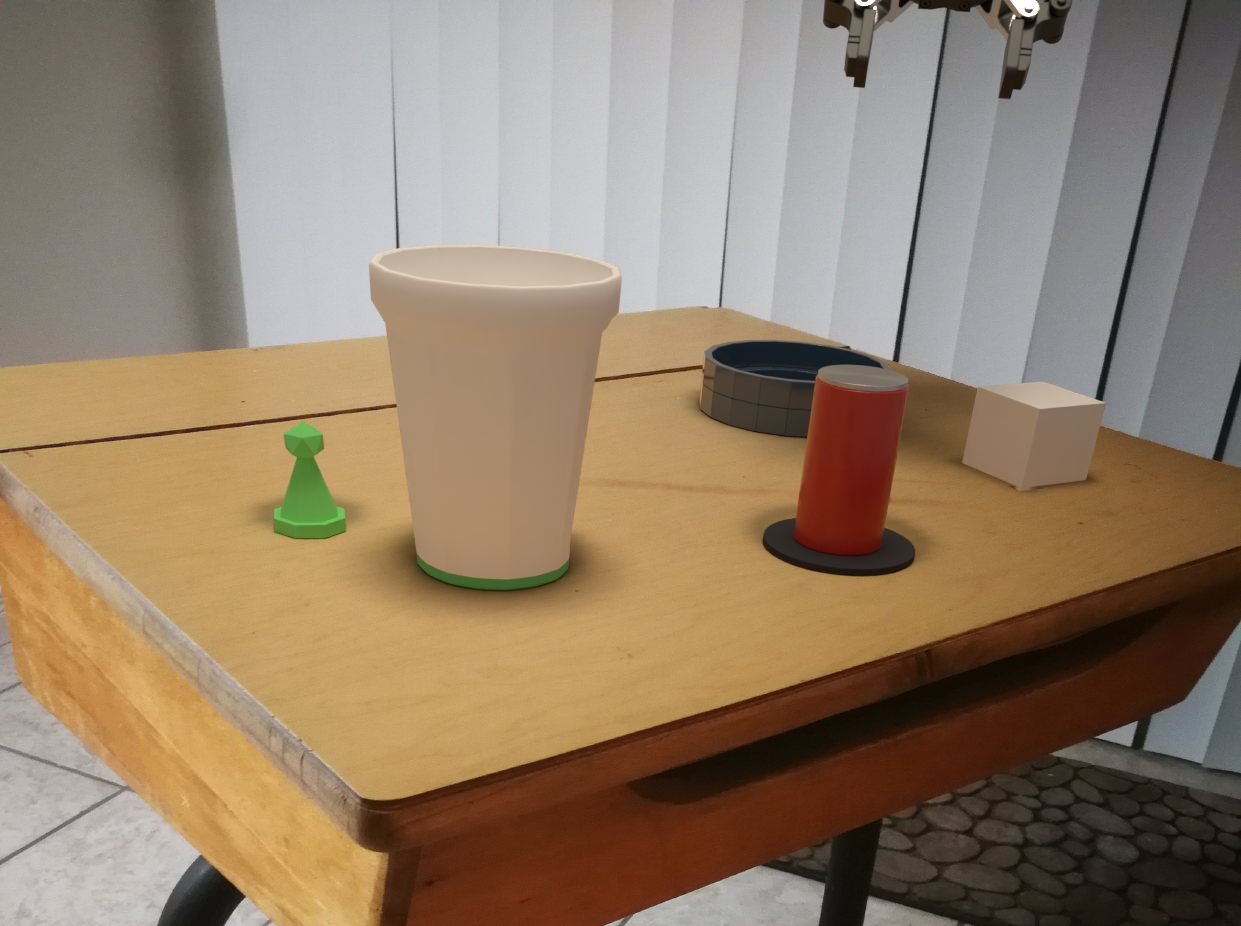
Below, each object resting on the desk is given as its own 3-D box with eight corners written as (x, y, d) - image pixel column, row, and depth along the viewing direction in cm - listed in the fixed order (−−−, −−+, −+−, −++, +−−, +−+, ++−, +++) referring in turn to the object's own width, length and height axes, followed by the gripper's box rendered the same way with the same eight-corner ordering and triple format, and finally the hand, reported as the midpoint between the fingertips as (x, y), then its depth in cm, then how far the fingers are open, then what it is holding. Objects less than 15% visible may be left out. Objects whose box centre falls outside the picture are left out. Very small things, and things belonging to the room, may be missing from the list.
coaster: (900, 527, 81) (901, 521, 81) (927, 579, 74) (928, 573, 74) (756, 518, 81) (757, 512, 81) (769, 570, 74) (770, 563, 73)
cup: (453, 622, 65) (451, 294, 57) (340, 545, 73) (324, 248, 65) (650, 579, 71) (674, 279, 63) (526, 513, 80) (532, 239, 71)
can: (873, 528, 80) (901, 367, 74) (887, 558, 75) (918, 389, 70) (789, 523, 80) (811, 361, 74) (798, 553, 75) (822, 383, 70)
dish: (865, 402, 108) (875, 346, 106) (894, 451, 96) (905, 388, 94) (695, 392, 108) (700, 334, 105) (703, 439, 96) (709, 375, 93)
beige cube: (1083, 491, 90) (1106, 402, 87) (1018, 500, 88) (1040, 409, 84) (1022, 466, 95) (1042, 380, 91) (959, 473, 92) (977, 386, 89)
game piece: (360, 532, 75) (355, 427, 72) (289, 543, 73) (281, 435, 70) (329, 510, 78) (323, 407, 75) (260, 520, 76) (251, 415, 73)
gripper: (855, -208, 77) (816, 20, 74) (1103, -197, 75) (1074, 38, 72) (844, -91, 84) (808, 122, 81) (1070, -78, 82) (1042, 140, 79)
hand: (933, 82), depth 76 cm, fingers open, 8 cm apart
